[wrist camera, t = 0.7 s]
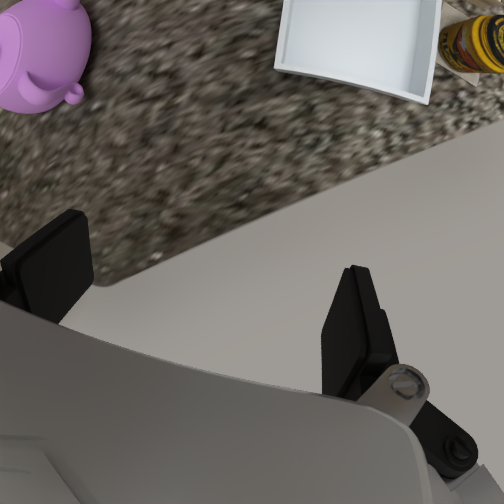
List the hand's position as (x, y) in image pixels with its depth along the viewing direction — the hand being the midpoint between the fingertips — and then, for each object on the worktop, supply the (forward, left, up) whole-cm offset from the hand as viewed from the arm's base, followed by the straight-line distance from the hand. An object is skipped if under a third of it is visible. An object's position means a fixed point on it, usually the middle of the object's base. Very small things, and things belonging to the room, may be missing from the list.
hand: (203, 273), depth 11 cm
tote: (-19, +7, -28) cm, 34 cm away
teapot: (-13, -30, -28) cm, 43 cm away
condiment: (-18, +20, -28) cm, 39 cm away
